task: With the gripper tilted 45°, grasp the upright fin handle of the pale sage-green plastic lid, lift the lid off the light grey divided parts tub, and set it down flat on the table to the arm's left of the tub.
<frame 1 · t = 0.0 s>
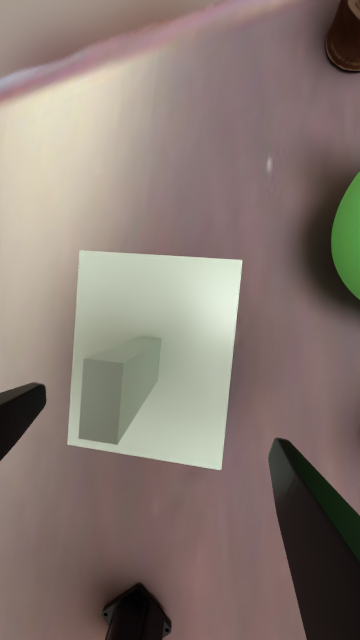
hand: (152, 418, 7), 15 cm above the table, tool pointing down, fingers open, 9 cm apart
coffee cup: (356, 46, 20), on the table
lid: (151, 356, 19), point 4 cm above the table, touching tub
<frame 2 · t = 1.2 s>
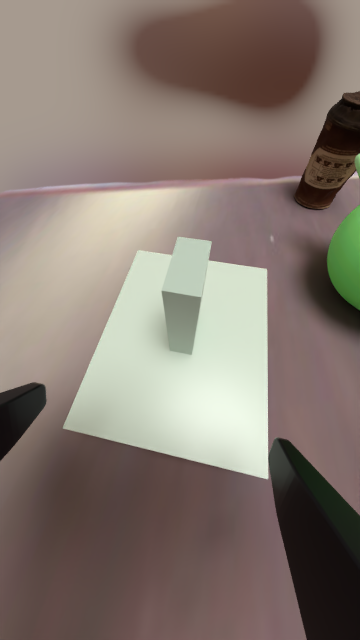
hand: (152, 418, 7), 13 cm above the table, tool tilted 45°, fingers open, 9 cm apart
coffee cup: (311, 201, 37), on the table
lid: (184, 336, 19), point 4 cm above the table, touching tub
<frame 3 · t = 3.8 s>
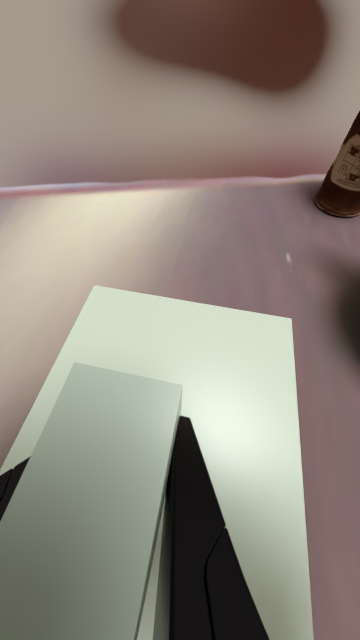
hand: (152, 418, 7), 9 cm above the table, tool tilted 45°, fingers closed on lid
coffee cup: (335, 206, 28), on the table
lid: (157, 446, 11), point 4 cm above the table, touching gripper, tub
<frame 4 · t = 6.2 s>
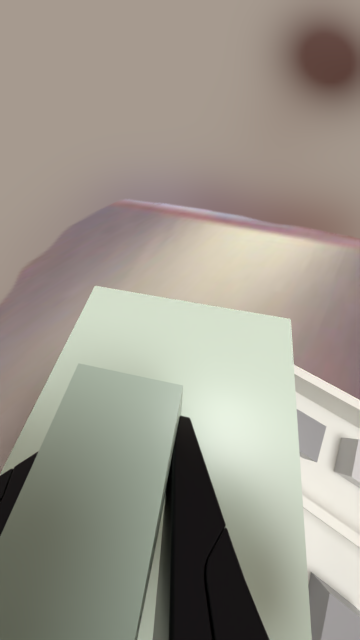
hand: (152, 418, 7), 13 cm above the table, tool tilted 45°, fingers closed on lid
tub: (301, 501, 16), on the table
lid: (157, 445, 11), point 8 cm above the table, touching gripper
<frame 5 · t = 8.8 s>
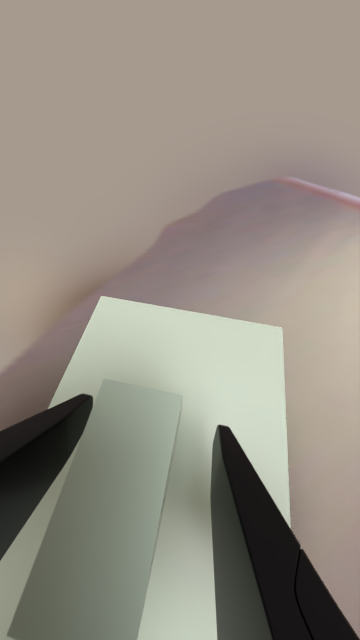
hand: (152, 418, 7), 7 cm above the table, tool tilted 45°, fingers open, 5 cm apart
lid: (159, 444, 13), point 1 cm above the table
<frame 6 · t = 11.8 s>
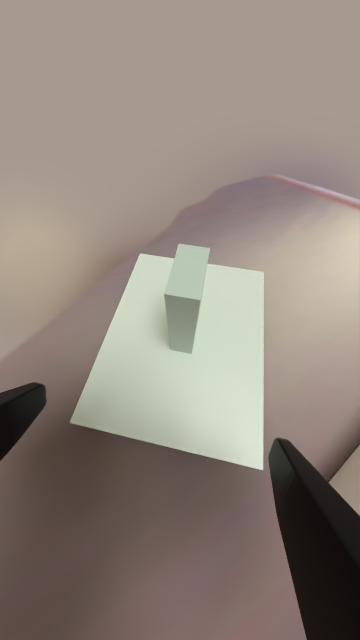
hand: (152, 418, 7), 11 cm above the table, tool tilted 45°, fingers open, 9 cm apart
lid: (185, 336, 20), point 1 cm above the table
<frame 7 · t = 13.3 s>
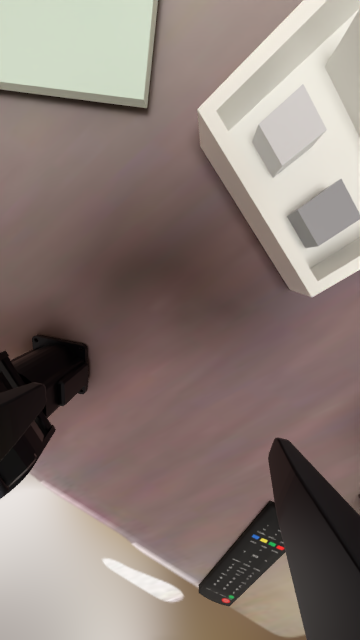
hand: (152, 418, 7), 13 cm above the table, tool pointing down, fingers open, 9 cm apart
tub: (358, 137, 14), on the table
remote control: (244, 549, 29), on the table
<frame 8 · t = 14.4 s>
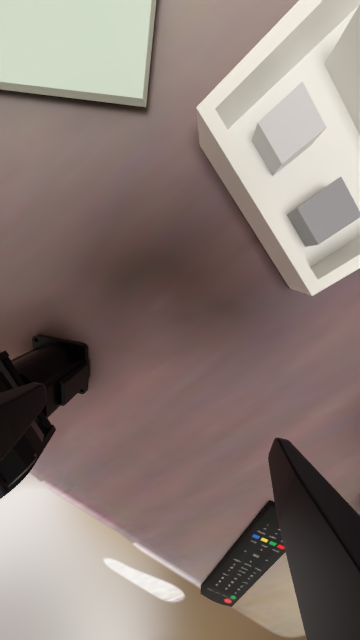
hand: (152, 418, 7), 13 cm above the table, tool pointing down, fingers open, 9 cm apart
tub: (358, 135, 14), on the table
remote control: (245, 549, 29), on the table
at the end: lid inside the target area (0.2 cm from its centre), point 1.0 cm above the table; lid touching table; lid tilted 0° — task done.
